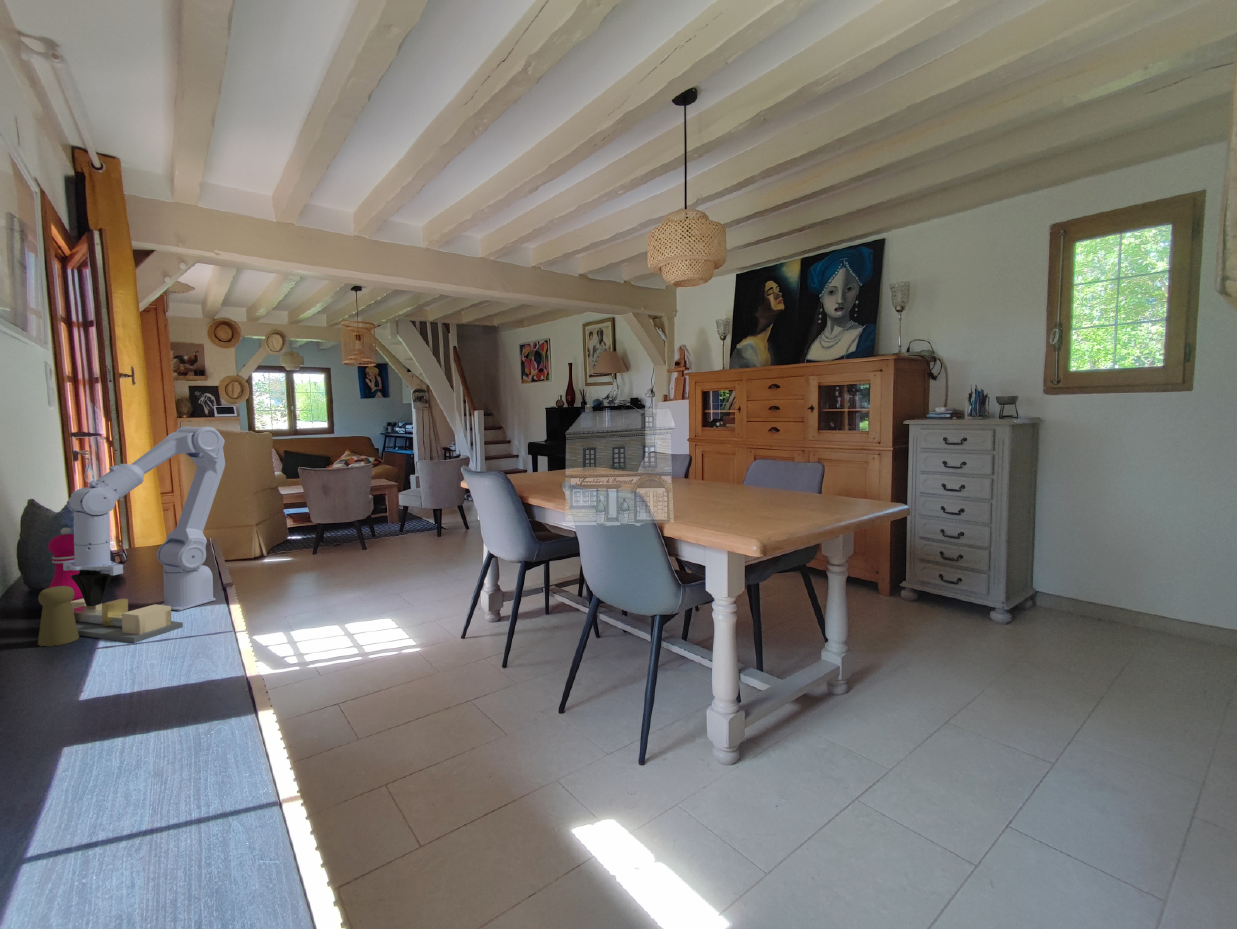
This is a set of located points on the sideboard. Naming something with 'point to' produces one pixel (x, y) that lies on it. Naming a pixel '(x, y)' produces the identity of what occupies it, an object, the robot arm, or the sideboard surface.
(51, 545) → the pepper mill
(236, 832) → the sideboard surface
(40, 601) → the cork
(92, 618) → the rod
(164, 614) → the jig board
